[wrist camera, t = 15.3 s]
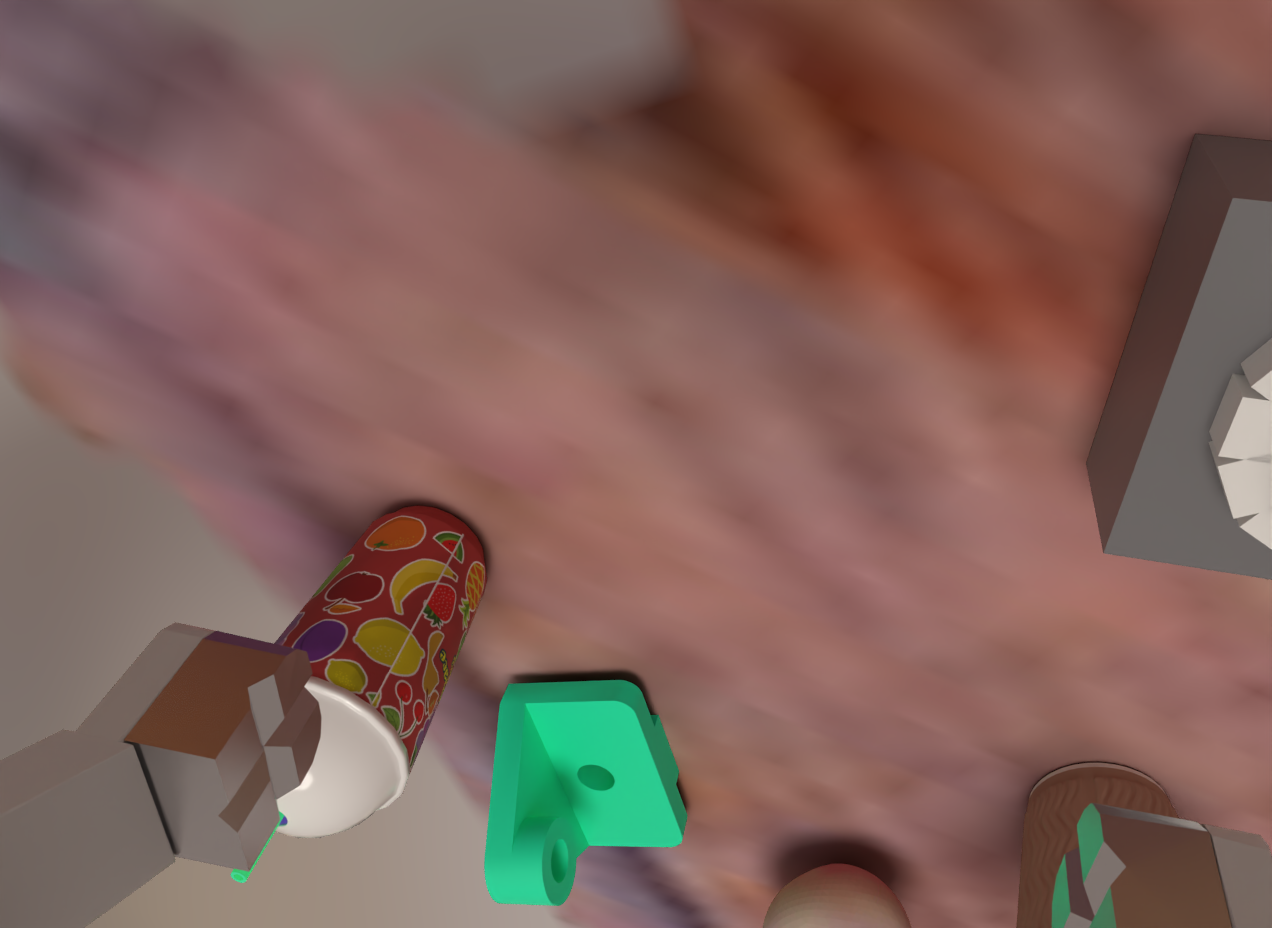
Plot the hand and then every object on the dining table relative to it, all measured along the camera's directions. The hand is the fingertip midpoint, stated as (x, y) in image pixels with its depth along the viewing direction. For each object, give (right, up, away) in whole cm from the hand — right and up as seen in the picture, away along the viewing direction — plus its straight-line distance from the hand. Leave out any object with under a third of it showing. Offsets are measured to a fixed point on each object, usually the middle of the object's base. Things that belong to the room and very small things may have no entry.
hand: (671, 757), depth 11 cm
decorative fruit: (+12, -21, +53) cm, 59 cm away
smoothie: (-11, -1, +46) cm, 47 cm away
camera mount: (-2, -13, +52) cm, 54 cm away
